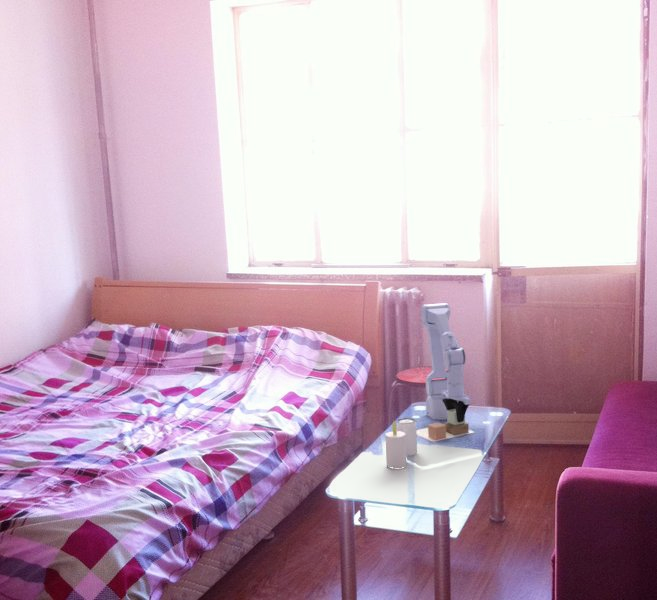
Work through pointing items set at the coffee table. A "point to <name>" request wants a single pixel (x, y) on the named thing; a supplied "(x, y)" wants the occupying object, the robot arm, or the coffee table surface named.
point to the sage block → (453, 417)
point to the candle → (395, 448)
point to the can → (408, 434)
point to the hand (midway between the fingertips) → (456, 419)
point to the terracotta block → (437, 431)
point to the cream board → (425, 435)
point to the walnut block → (457, 428)
